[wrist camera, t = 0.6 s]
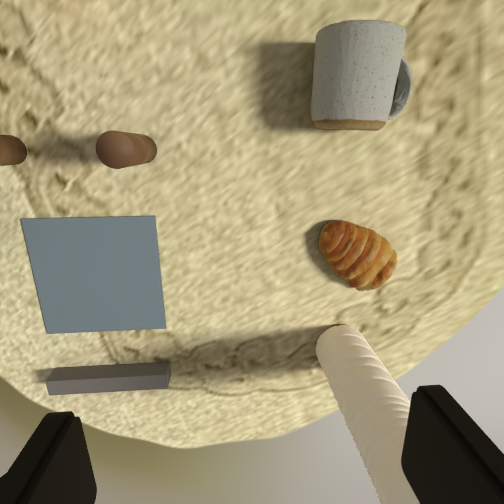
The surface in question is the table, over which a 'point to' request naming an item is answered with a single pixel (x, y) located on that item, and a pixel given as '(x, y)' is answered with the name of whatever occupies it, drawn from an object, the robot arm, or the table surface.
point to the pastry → (357, 254)
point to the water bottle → (369, 408)
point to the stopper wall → (109, 378)
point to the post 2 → (125, 149)
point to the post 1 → (11, 150)
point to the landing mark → (96, 273)
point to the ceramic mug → (359, 75)
